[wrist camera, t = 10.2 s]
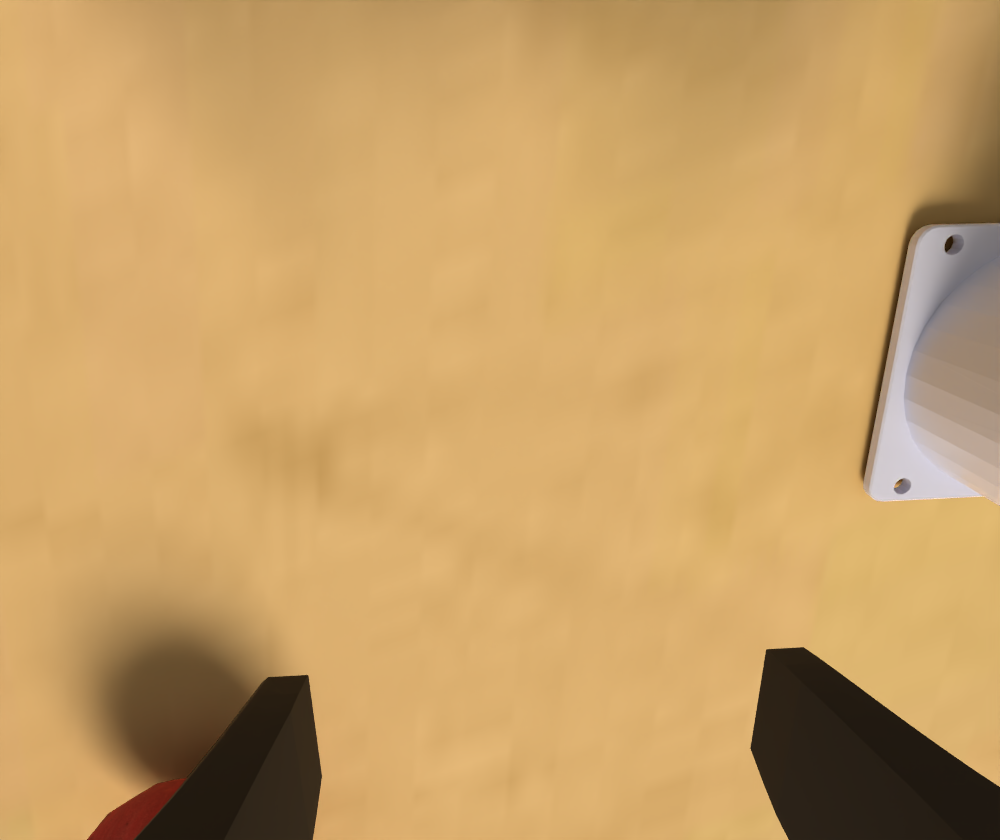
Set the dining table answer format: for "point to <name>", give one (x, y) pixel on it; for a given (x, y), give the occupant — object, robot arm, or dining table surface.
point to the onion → (135, 813)
